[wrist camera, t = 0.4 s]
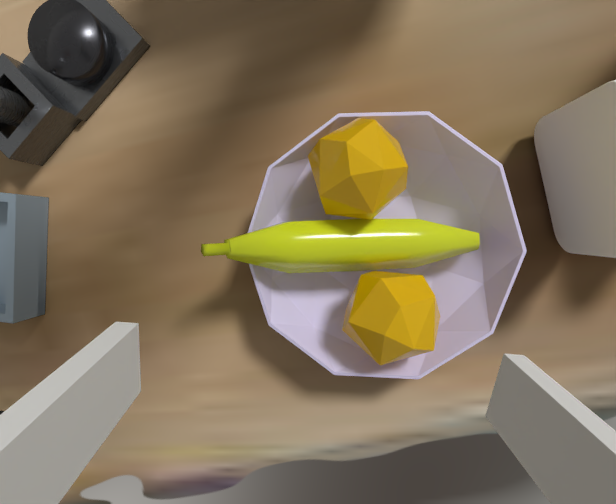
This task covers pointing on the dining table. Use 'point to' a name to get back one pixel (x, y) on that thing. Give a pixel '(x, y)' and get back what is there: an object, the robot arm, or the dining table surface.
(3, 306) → the tray
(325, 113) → the dining table surface
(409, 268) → the fruit bowl
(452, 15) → the dining table surface
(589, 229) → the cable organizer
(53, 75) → the bracket
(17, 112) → the lock pin
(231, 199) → the dining table surface
